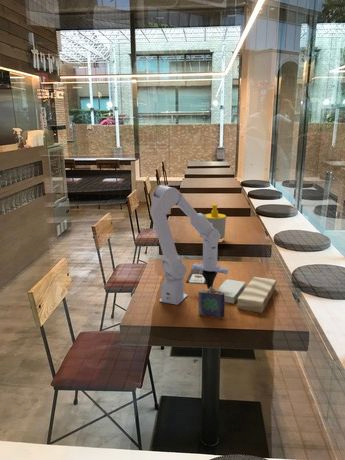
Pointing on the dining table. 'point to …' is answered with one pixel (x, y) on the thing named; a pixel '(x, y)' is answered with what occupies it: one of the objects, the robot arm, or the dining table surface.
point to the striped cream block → (256, 294)
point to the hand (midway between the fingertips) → (209, 288)
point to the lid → (231, 290)
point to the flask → (211, 303)
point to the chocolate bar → (196, 277)
